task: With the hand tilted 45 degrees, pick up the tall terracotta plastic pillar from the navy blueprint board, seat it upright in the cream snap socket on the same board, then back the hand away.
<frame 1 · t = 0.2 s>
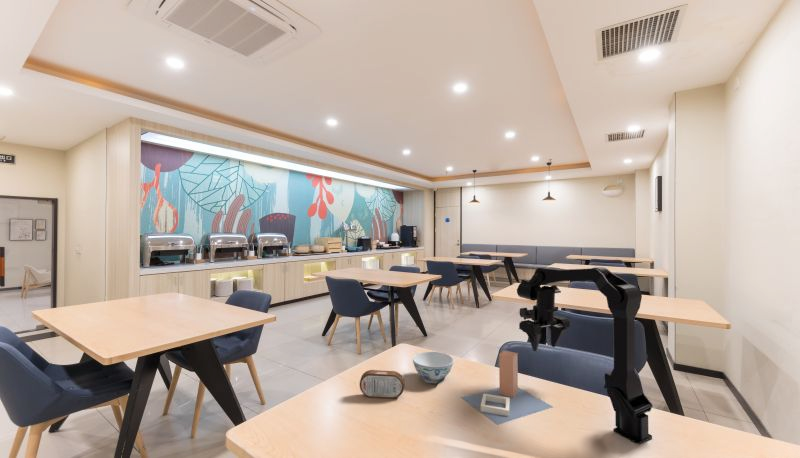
hand: (544, 348, 113), 14 cm above the table, tool pointing down, fingers open, 9 cm apart
snap socket: (495, 406, 100), resting on blueprint board
chinaware: (432, 380, 122), on the table
terracotta pillar: (508, 393, 109), point 1 cm above the table, touching blueprint board
tin: (382, 397, 109), on the table
blueprint board: (505, 405, 103), on the table
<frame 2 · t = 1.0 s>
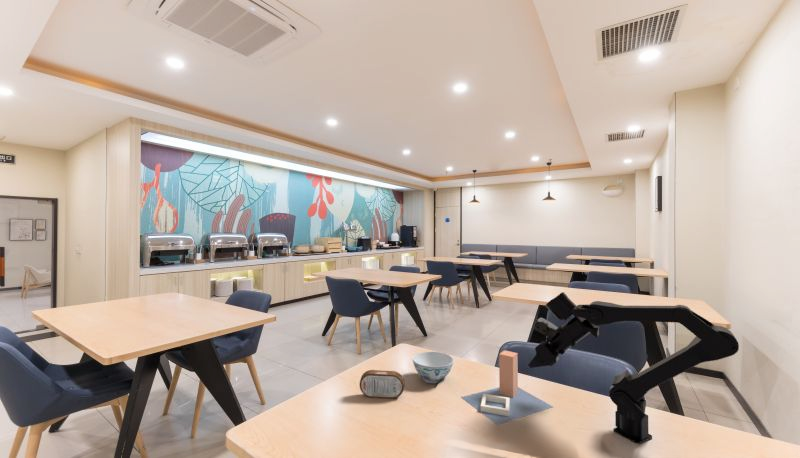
hand: (533, 361, 104), 13 cm above the table, tool tilted 45°, fingers open, 9 cm apart
nothing on the table moved.
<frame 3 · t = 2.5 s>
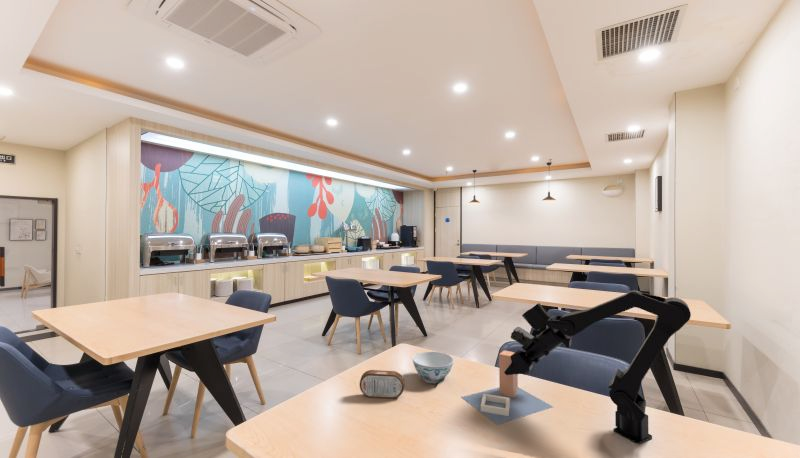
hand: (510, 368, 109), 9 cm above the table, tool tilted 45°, fingers open, 9 cm apart
nothing on the table moved.
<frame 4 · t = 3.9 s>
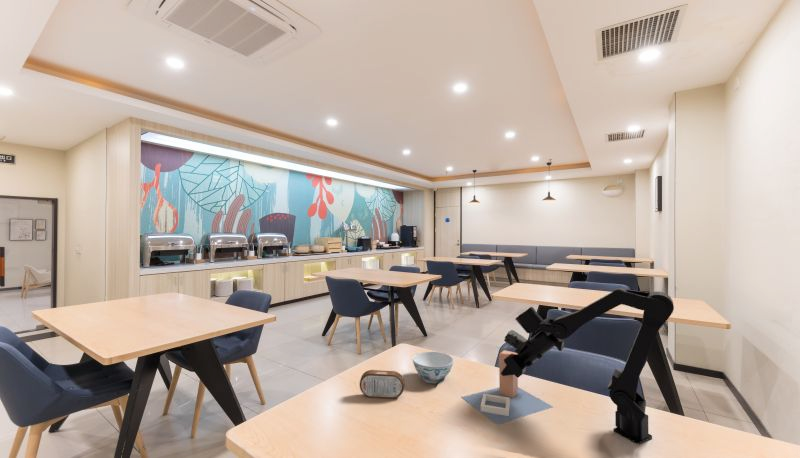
hand: (504, 372, 110), 8 cm above the table, tool tilted 45°, fingers closed on terracotta pillar, 4 cm apart
terracotta pillar: (508, 393, 109), point 1 cm above the table, touching blueprint board, gripper
everything else where it was.
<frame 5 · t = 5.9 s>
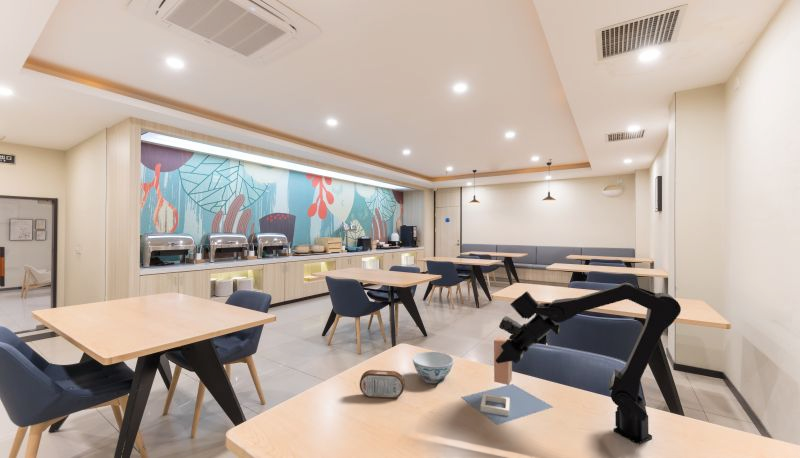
hand: (498, 359, 107), 13 cm above the table, tool tilted 45°, fingers closed on terracotta pillar, 4 cm apart
terracotta pillar: (503, 380, 106), point 6 cm above the table, touching gripper
everything else where it was.
when the fingers open (9 cm above the table, at t = 8.0 s): terracotta pillar stays where it is, resting on blueprint board.
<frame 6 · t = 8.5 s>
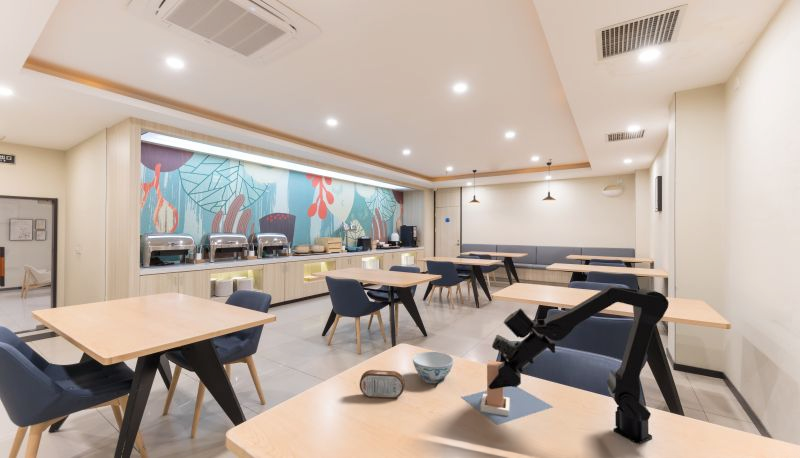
hand: (490, 381, 101), 9 cm above the table, tool tilted 45°, fingers open, 9 cm apart
terracotta pillar: (495, 407, 100), point 1 cm above the table, touching blueprint board
everything else where it was.
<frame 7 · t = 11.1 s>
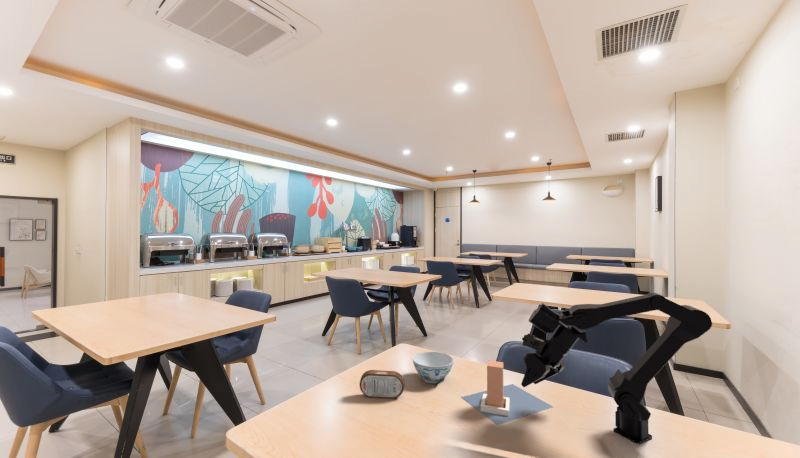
hand: (528, 384, 97), 9 cm above the table, tool tilted 35°, fingers open, 9 cm apart
nothing on the table moved.
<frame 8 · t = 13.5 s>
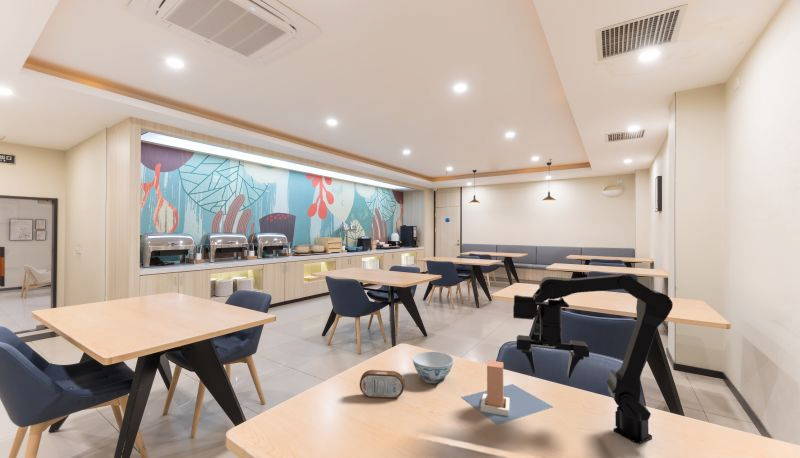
hand: (551, 375, 95), 13 cm above the table, tool pointing down, fingers open, 9 cm apart
nothing on the table moved.
at the end: terracotta pillar 0.0 cm off-centre on the snap socket, point 0.0 cm above the snap socket's base; terracotta pillar tilted 0°; the gripper is holding nothing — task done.
